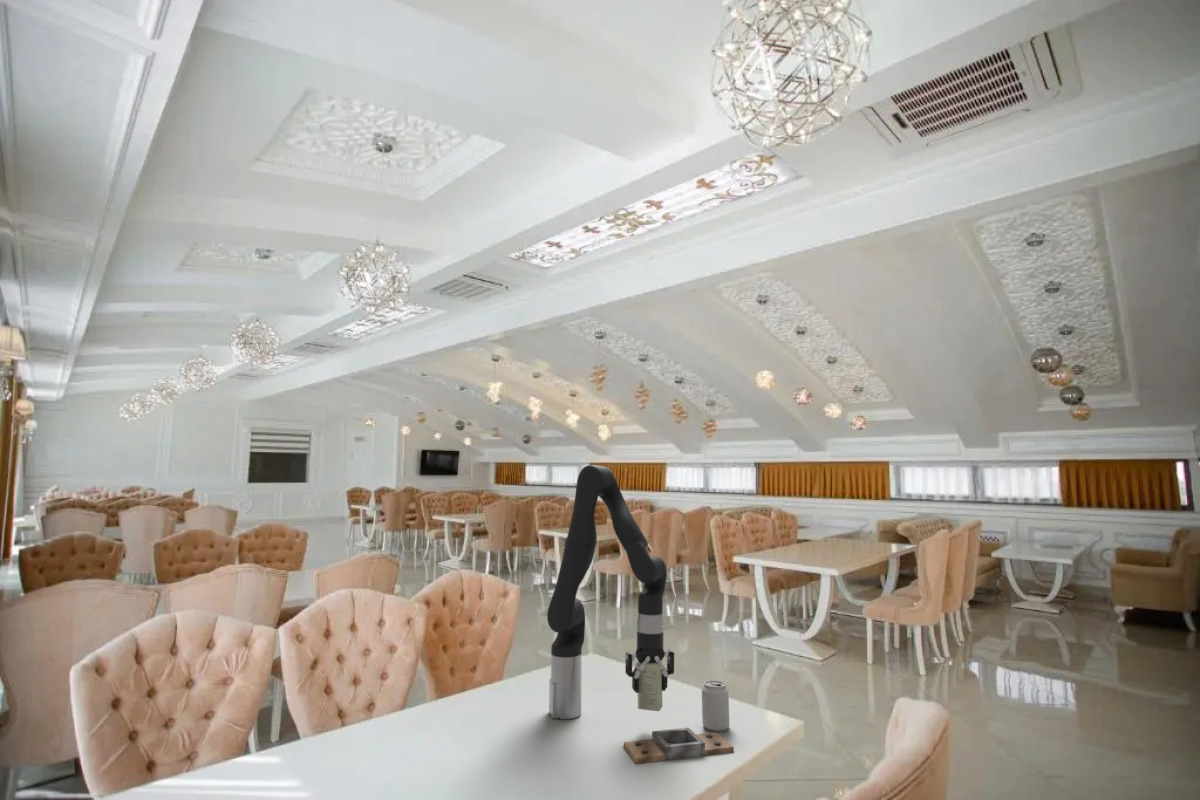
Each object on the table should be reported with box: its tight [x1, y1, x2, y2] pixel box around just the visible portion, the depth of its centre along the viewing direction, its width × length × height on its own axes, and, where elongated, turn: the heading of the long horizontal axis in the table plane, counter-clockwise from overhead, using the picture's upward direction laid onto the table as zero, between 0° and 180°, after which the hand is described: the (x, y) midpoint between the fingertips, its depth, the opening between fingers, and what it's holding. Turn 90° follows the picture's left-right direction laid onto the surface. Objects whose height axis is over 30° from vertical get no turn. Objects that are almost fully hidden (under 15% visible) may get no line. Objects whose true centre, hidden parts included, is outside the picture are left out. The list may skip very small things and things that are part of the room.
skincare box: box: [636, 661, 663, 712], centre depth 167 cm, size 6×4×12 cm
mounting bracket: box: [623, 727, 735, 764], centre depth 154 cm, size 26×10×3 cm, turn 105°
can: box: [701, 679, 730, 733], centre depth 169 cm, size 8×8×12 cm
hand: (649, 690), depth 166 cm, fingers closed on skincare box, 7 cm apart
